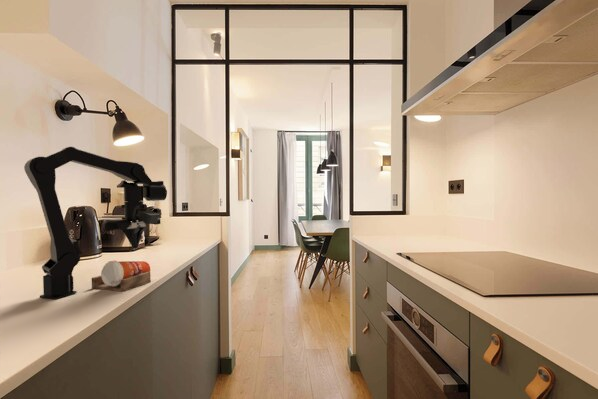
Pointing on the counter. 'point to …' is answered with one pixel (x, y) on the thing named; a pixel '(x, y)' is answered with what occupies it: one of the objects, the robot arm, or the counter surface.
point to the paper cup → (122, 271)
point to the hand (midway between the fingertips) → (135, 248)
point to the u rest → (122, 282)
